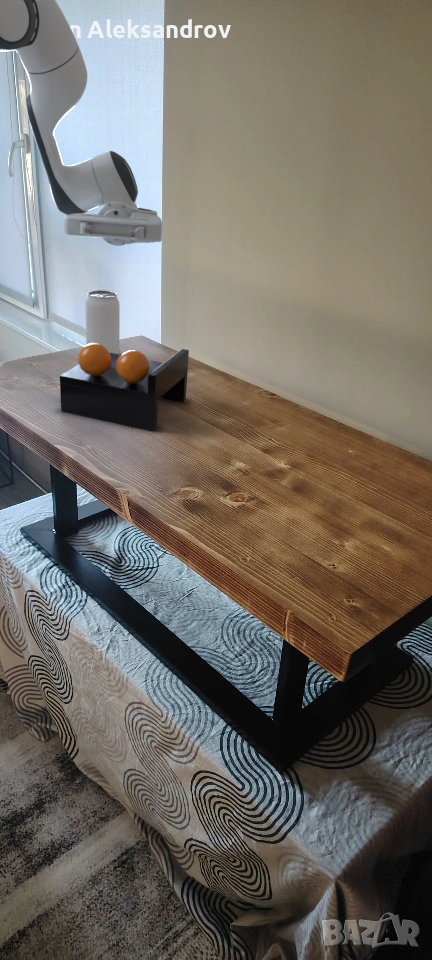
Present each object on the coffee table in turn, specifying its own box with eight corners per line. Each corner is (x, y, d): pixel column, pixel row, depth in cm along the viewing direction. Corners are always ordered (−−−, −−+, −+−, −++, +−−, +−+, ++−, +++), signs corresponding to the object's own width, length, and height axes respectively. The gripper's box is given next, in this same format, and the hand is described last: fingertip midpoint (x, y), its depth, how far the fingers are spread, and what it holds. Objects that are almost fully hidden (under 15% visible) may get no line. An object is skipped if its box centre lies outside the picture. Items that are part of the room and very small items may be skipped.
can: (126, 355, 126) (126, 294, 120) (104, 362, 121) (103, 299, 115) (101, 347, 129) (101, 288, 123) (79, 354, 124) (77, 293, 118)
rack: (61, 411, 100) (57, 344, 94) (102, 383, 111) (101, 322, 106) (153, 431, 96) (156, 362, 90) (185, 400, 107) (189, 338, 102)
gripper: (69, 204, 135) (56, 211, 123) (164, 211, 136) (161, 220, 124) (70, 235, 138) (58, 245, 126) (163, 242, 139) (160, 253, 127)
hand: (110, 233), depth 125 cm, fingers open, 8 cm apart
